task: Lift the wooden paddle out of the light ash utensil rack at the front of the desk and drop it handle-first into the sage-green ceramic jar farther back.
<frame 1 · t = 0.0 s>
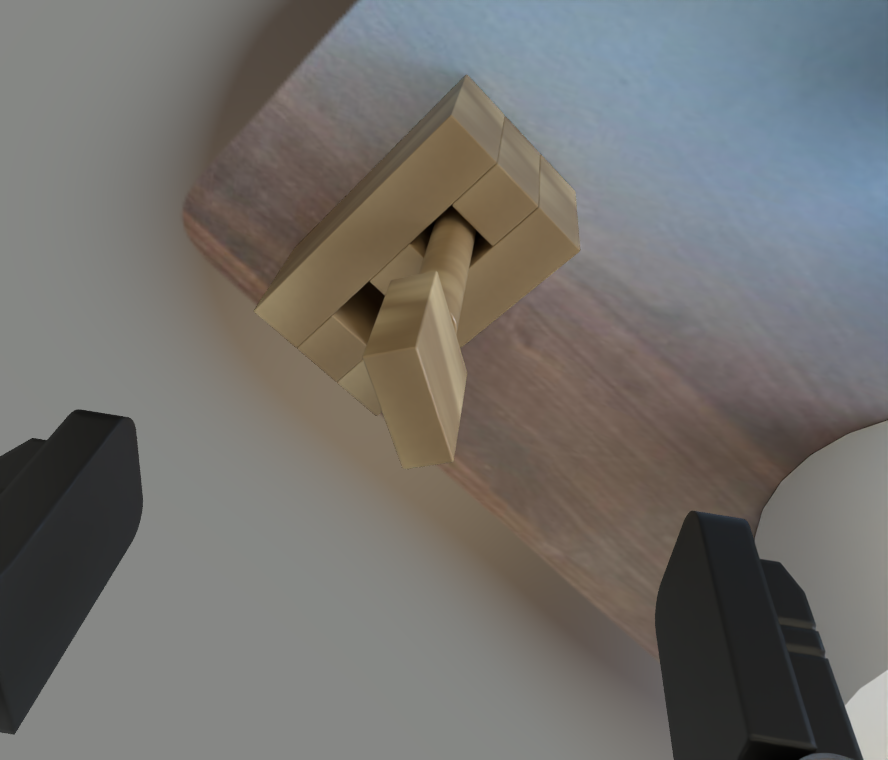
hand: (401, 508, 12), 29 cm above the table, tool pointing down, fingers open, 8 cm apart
rack: (429, 221, 41), on the table
wooden paddle: (465, 188, 39), resting in rack
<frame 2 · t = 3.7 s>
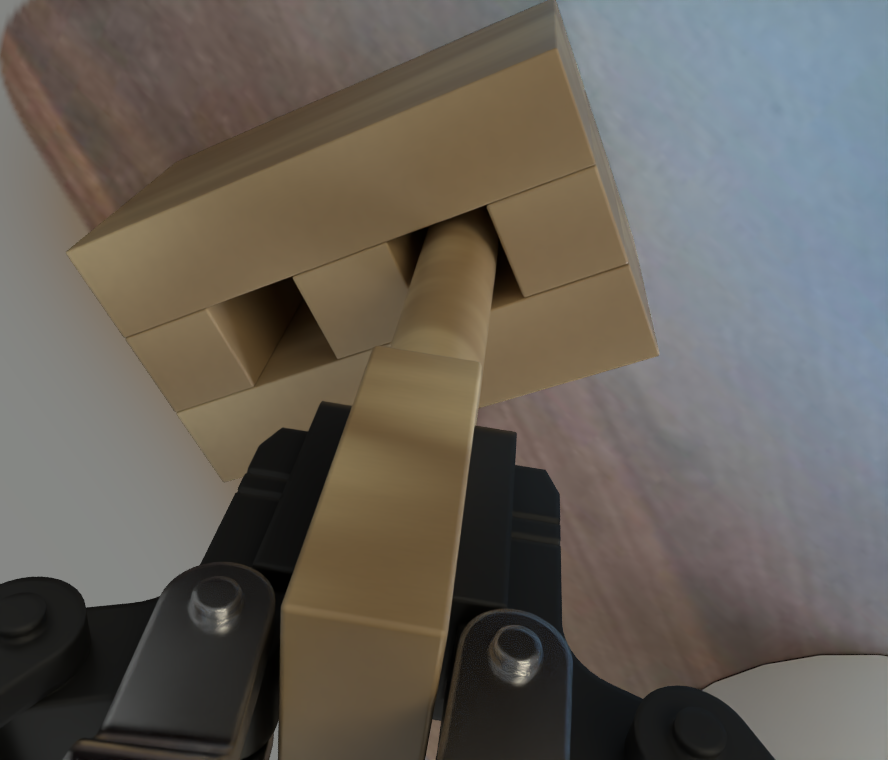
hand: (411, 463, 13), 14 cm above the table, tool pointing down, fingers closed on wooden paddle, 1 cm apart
rack: (403, 201, 25), on the table
wooden paddle: (477, 173, 25), resting in rack, touching gripper
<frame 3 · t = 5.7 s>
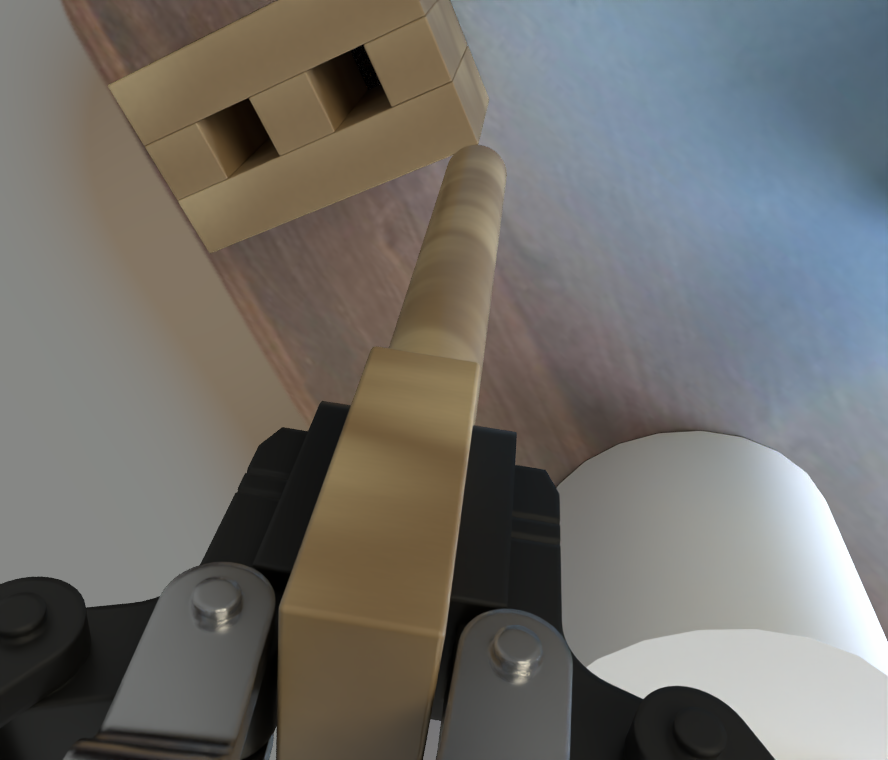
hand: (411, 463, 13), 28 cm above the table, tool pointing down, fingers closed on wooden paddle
rack: (332, 75, 37), on the table
cylinder: (679, 545, 50), on the table
wooden paddle: (476, 174, 25), point 14 cm above the table, touching gripper
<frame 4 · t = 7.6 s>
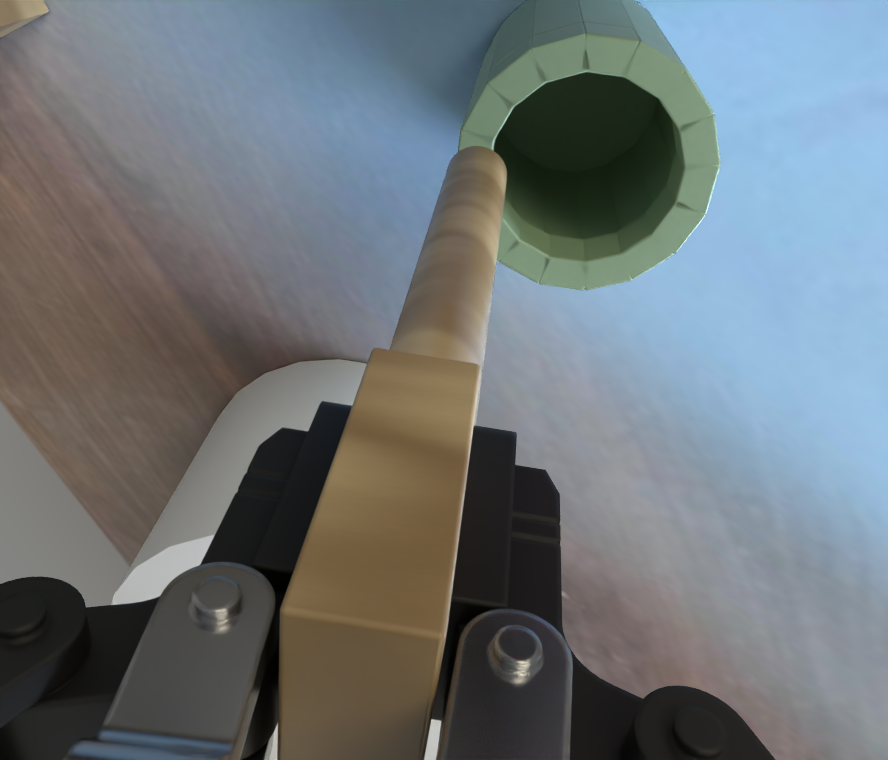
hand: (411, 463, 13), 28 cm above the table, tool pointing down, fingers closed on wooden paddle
cylinder: (350, 480, 50), on the table
jar: (574, 85, 36), on the table
wooden paddle: (477, 174, 25), point 14 cm above the table, touching gripper
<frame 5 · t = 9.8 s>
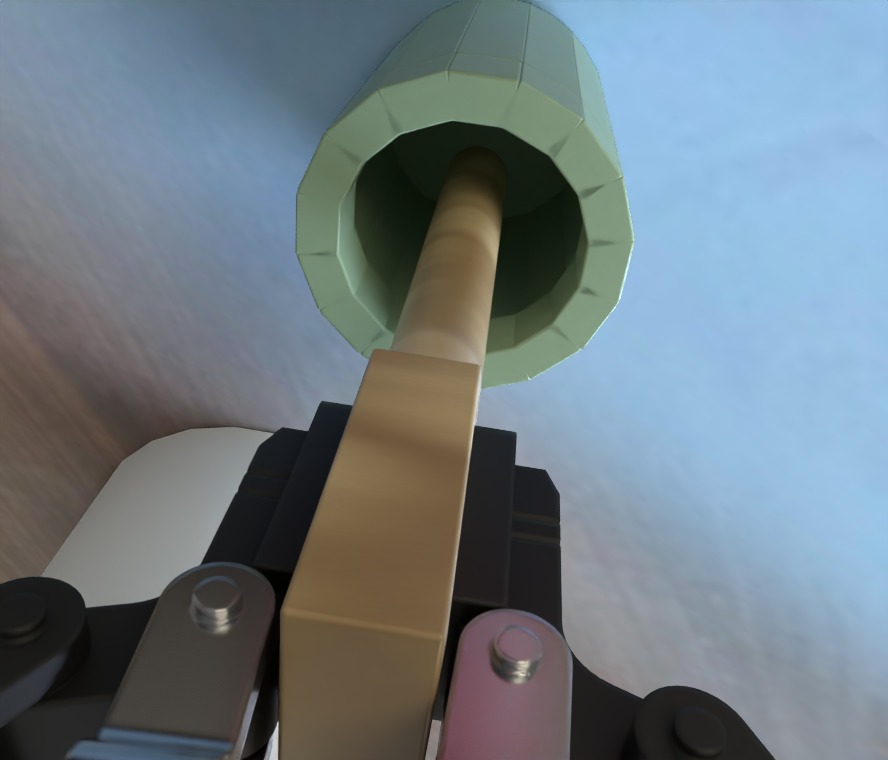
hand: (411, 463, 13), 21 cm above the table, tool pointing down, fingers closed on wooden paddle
cylinder: (258, 557, 44), on the table
jar: (489, 119, 30), on the table
wooden paddle: (477, 175, 25), point 7 cm above the table, touching gripper
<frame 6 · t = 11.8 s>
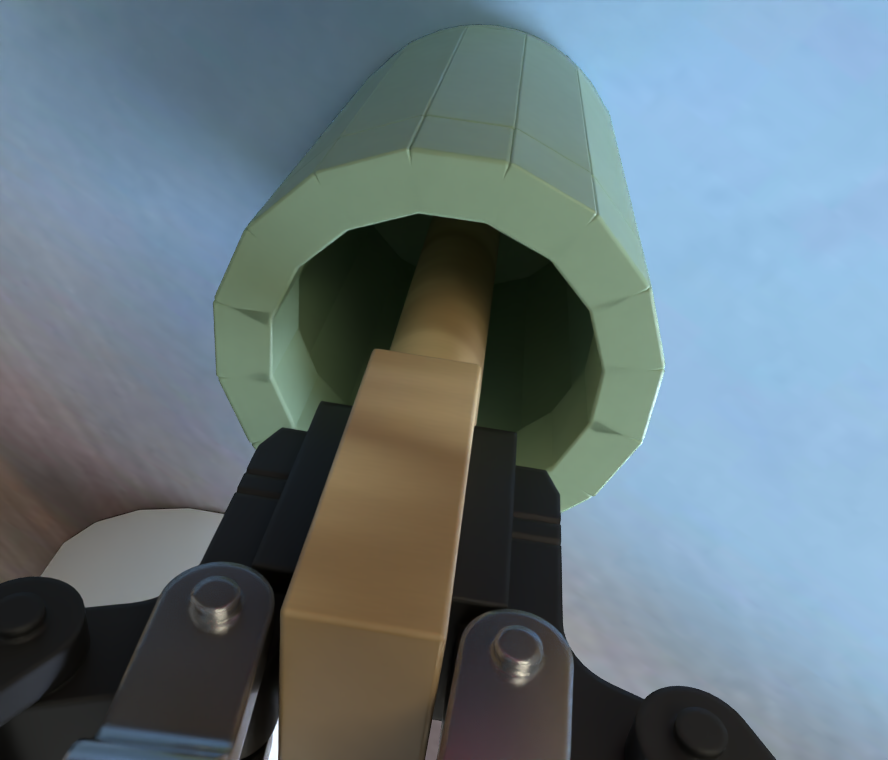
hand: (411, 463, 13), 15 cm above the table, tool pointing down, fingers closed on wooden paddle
cylinder: (221, 645, 39), on the table
jar: (478, 168, 25), on the table, touching wooden paddle
wooden paddle: (477, 174, 25), point 1 cm above the table, touching gripper, jar
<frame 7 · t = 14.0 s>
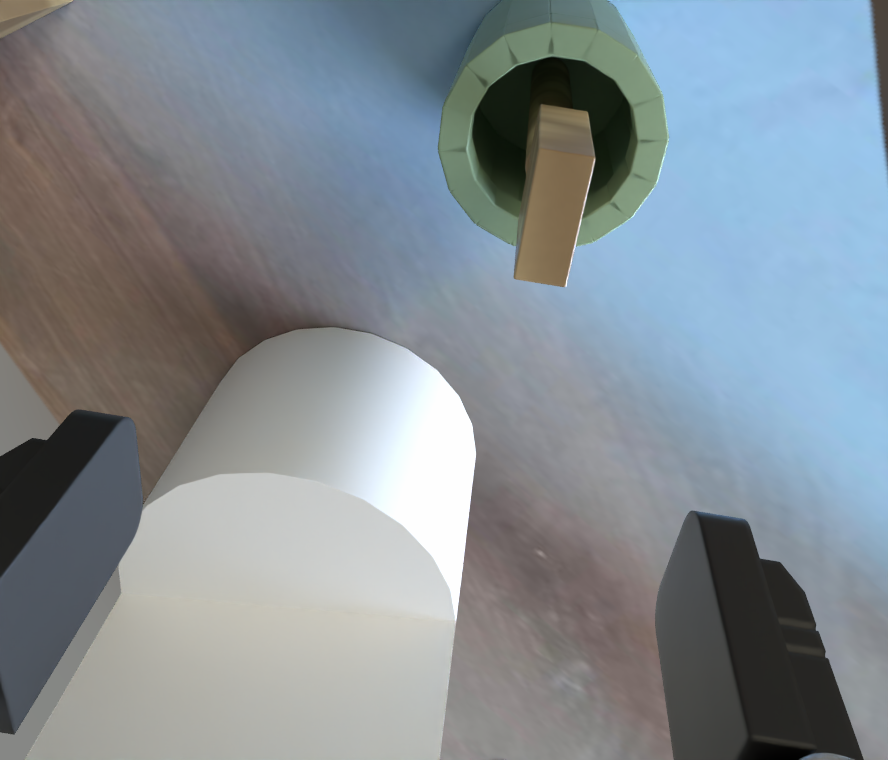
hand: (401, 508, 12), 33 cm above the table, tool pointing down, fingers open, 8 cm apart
cylinder: (343, 443, 54), on the table
jar: (550, 74, 40), on the table, touching wooden paddle
wooden paddle: (550, 77, 40), point 1 cm above the table, touching jar
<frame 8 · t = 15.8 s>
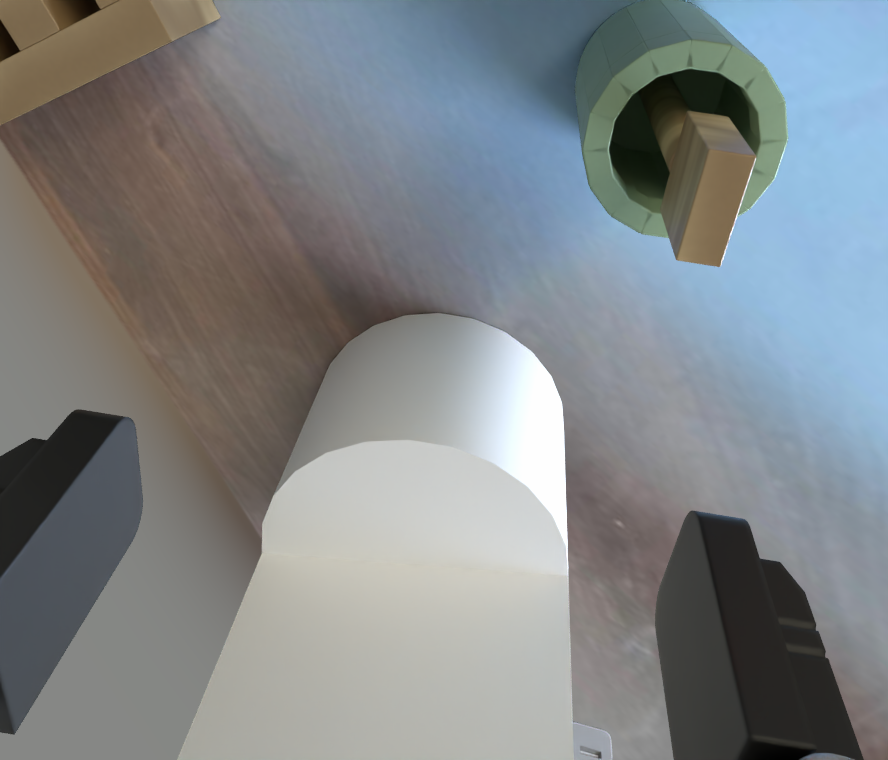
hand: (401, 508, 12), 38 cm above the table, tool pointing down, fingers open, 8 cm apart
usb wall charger: (575, 746, 76), on the table
cylinder: (439, 421, 58), on the table
jar: (652, 81, 44), on the table, touching wooden paddle
wooden paddle: (654, 83, 44), point 1 cm above the table, touching jar
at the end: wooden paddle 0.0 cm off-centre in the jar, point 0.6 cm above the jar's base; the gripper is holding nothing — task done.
